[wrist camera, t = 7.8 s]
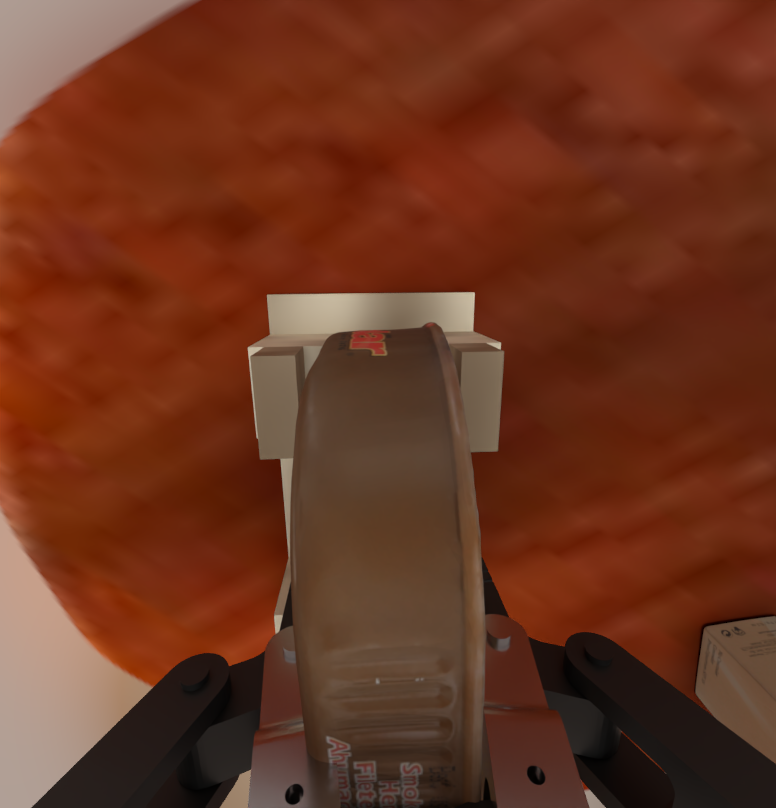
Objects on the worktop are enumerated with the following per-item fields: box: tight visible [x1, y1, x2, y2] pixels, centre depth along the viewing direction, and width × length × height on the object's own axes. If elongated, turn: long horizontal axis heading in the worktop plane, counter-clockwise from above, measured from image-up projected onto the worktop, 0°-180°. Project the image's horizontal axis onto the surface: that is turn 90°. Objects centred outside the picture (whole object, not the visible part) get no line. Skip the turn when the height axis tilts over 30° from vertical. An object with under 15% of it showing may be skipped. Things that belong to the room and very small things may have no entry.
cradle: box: [248, 292, 504, 633], centre depth 17 cm, size 8×16×6 cm, turn 1°
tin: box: [290, 322, 485, 808], centre depth 10 cm, size 15×3×8 cm, turn 2°
